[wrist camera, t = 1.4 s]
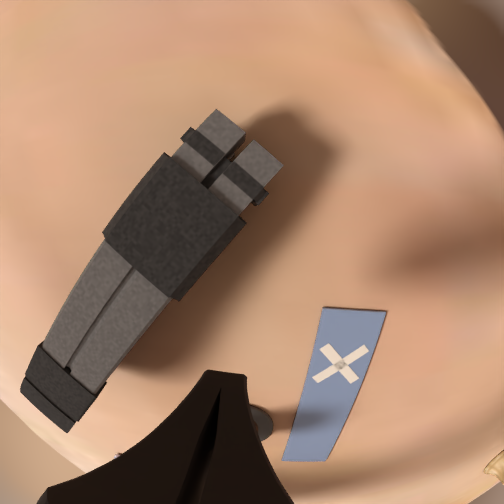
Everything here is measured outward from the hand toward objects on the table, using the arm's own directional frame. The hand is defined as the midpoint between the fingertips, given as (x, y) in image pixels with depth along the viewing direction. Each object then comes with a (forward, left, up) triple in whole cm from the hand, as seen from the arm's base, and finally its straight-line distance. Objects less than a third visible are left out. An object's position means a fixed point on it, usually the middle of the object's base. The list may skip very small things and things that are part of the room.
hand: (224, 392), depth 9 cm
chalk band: (-8, -6, -8) cm, 13 cm away
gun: (0, +7, -8) cm, 10 cm away
